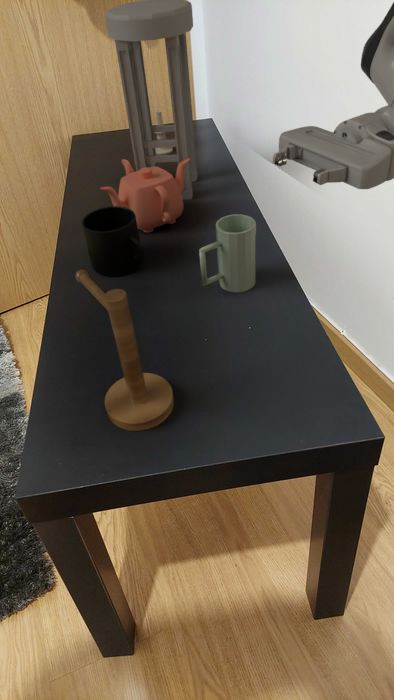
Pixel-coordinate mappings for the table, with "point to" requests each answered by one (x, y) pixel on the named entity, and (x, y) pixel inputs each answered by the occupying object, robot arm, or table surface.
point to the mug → (113, 240)
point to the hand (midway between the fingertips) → (295, 169)
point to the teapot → (150, 195)
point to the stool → (128, 31)
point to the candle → (161, 137)
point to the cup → (233, 253)
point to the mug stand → (130, 369)
